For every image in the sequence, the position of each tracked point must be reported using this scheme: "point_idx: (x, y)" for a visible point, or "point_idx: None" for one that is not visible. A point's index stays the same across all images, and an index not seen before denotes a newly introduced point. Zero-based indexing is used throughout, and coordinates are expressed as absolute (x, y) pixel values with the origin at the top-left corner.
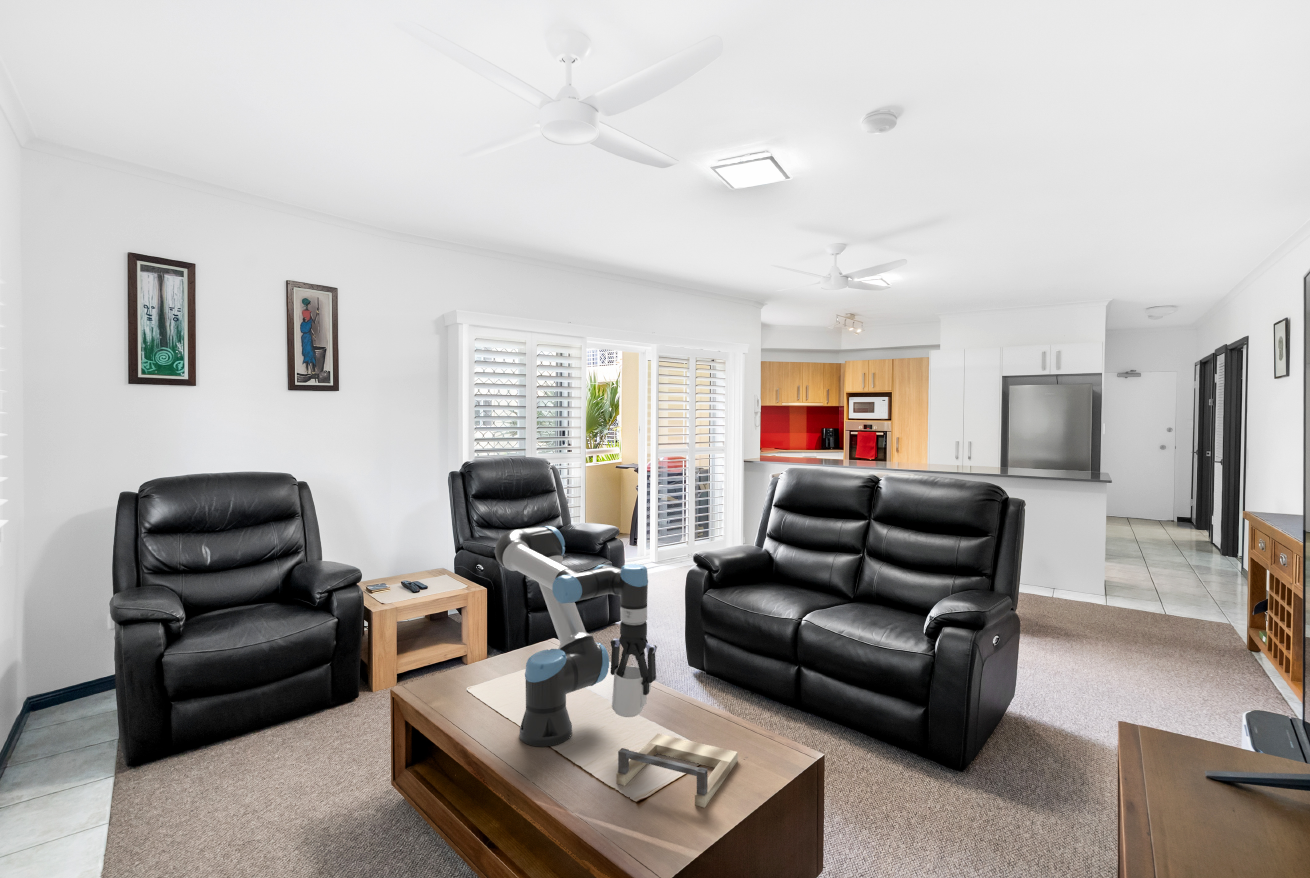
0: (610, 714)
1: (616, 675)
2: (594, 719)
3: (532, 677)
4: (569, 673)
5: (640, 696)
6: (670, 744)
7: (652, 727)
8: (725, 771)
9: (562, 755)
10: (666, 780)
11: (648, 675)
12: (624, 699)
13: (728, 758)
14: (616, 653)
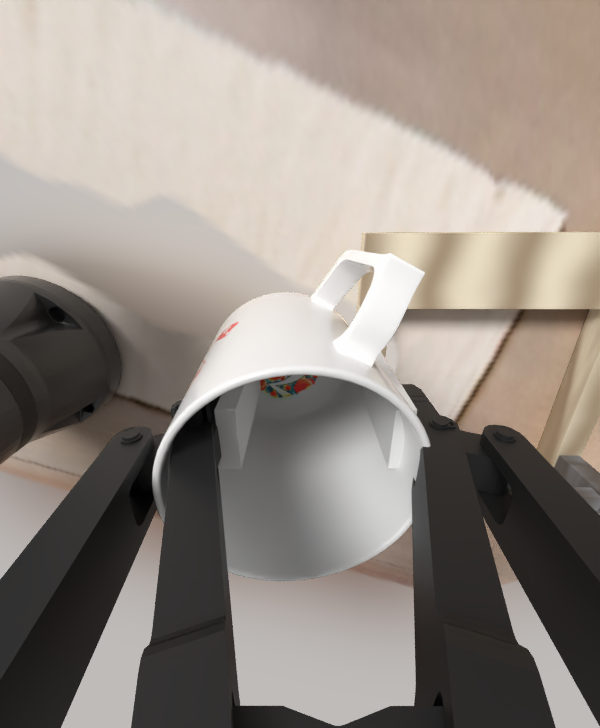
0: (86, 92)
1: (234, 571)
2: (72, 173)
3: None
4: None
5: None
6: (435, 288)
7: (298, 125)
8: None
9: (165, 411)
10: (451, 405)
11: (492, 526)
12: (309, 468)
13: None
14: (54, 702)
